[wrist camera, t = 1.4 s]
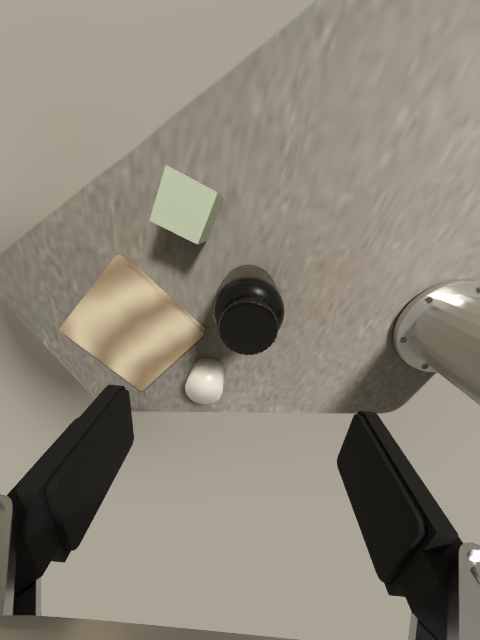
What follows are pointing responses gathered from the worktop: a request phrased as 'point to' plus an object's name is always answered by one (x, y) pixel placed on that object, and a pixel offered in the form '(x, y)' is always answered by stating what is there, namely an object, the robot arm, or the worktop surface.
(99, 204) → the worktop surface
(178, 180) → the sage block
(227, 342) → the supplement bottle
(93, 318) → the birch board
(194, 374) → the white rounded lump
